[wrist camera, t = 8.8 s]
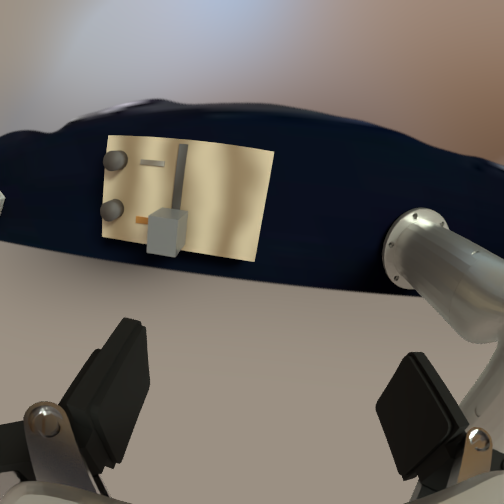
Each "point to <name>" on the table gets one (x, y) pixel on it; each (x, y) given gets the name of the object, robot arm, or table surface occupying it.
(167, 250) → the fader tab
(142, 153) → the fader console
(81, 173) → the table surface
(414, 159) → the table surface
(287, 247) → the table surface
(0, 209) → the supplement box
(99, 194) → the table surface
